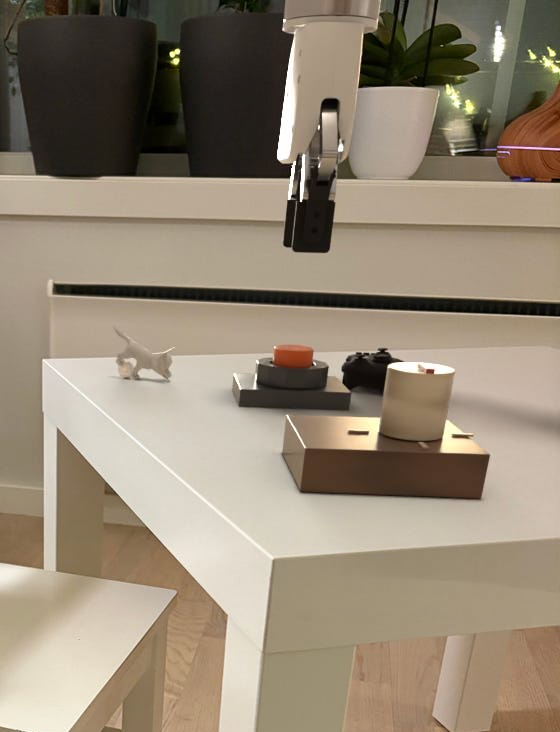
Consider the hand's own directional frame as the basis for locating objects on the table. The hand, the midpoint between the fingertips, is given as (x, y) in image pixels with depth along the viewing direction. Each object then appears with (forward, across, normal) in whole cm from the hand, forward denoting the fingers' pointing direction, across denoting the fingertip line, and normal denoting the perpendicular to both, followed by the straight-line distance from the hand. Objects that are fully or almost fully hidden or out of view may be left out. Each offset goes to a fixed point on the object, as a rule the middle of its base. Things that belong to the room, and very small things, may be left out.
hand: (305, 247), depth 86 cm
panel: (+13, +25, +3) cm, 29 cm away
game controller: (+14, -8, +10) cm, 19 cm away
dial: (+10, +25, +5) cm, 28 cm away
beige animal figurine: (+14, -8, -14) cm, 21 cm away
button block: (+13, 0, 0) cm, 13 cm away
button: (+10, 0, 0) cm, 10 cm away
